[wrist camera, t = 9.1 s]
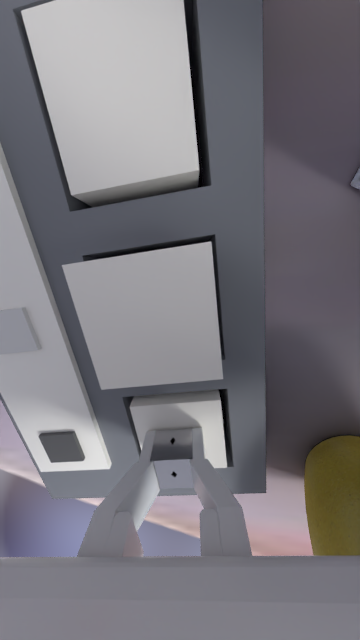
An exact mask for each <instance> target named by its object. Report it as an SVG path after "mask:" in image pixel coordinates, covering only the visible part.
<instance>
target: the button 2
mask: <svg viewBox="0 0 360 640" xmlns="http://www.w3.org/2000/svg"><path fill="white" fill-rule="evenodd" d="M130 411H131V415H132V418H133V422H134V425H135V429H136V433H137V436H138V440H139V444H140V447H141V451H142V447H143V443H144V439H145V435H146V433H147V431H155V430H174V429H184V428H199V427H202V430H203V437H204V445H205V453H206V459H208V460H209V462H210V463H211V464H212V466H213V467H214V468H227V460H226V450H225V439H224V428H223V418H222V407H221V398H220V394H219V389H215V390H203V391H190V392H178V393H166V394H154V395H142V396H134V397H133V400H132V402H131V405H130Z"/></svg>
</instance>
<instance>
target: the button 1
mask: <svg viewBox="0 0 360 640" xmlns="http://www.w3.org/2000/svg"><path fill="white" fill-rule="evenodd" d="M21 14H22V17H23V21H24V25H25V28H26V32H27V36H28V39H29V43H30V47H31V50H32V54H33V58H34V61H35V65H36V69H37V72H38V76H39V79H40V83H41V87H42V90H43V94H44V98H45V101H46V105H47V109H48V112H49V116H50V120H51V123H52V127H53V131H54V134H55V138H56V142H57V145H58V149H59V152H60V156H61V160H62V163H63V167H64V171H65V174H66V178H67V182H68V185H69V189H70V193H71V195H72V196H74V197H75V198H77V199H79V200H81V201H82V202H84V203H86V204H88V205H90V206H91V207H99V206H104V205H109V204H115V203H120V202H125V201H131V200H136V199H141V198H147V197H152V196H157V195H163V194H168V193H173V192H179V191H184V190H189V189H195V188H198V180H199V160H198V150H197V139H196V128H195V117H194V107H193V96H192V85H191V75H190V64H189V53H188V42H187V32H186V21H185V10H184V0H54V1H51V2H48V3H44V4H41V5H38V6H35V7H31V8H28V9H25V10H22V11H21Z"/></svg>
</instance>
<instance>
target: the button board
mask: <svg viewBox="0 0 360 640" xmlns="http://www.w3.org/2000/svg"><path fill="white" fill-rule="evenodd" d="M51 1H54V0H0V399H1V401H2V403H3V405H4V407H5V409H6V411H7V412H8V414H9V416H10V418H11V420H12V422H13V424H14V426H15V428H16V430H17V432H18V434H19V436H20V438H21V440H22V441H23V443H24V445H25V447H26V449H27V451H28V453H29V455H30V457H31V459H32V461H33V463H34V465H35V467H36V468H37V470H38V472H39V474H40V476H41V478H42V480H43V482H44V484H45V486H46V488H47V490H48V492H49V494H50V495H51V497H52V499H62V498H63V499H66V498H102V497H107V496H108V494H109V493H110V492H111V491H112V490H113V489H114V487H115V486H116V485H117V484H118V483H119V482H120V480H121V479H122V478H123V477H124V476H125V474H126V473H127V472H128V471H129V470H130V469H131V467H132V466H133V465H134V464H135V463H136V462H139V458H140V454H141V447H140V444H139V440H138V436H137V433H136V429H135V425H134V422H133V418H132V415H131V411H130V405H131V402H132V400H133V397H134V396H142V395H154V394H166V393H178V392H190V391H203V390H215V389H221V390H222V401H223V412H224V423H223V428H224V439H225V450H226V460H227V468H214V469H215V470H216V471H217V473H218V474H219V476H220V477H221V479H222V480H223V481H224V483H225V484H226V486H227V487H228V488H229V490H230V491H231V493H232V494H245V493H266V403H265V266H264V128H263V0H184V10H185V21H186V32H187V42H188V53H189V64H190V67H192V69H193V80H194V91H195V102H196V113H197V124H198V135H199V146H200V157H201V168H202V180H203V187H200V188H195V189H189V190H184V191H179V192H173V193H168V194H163V195H157V196H152V197H147V198H141V199H136V200H131V201H125V202H120V203H115V204H109V205H104V206H99V207H91V206H90V205H88V204H86V203H84V202H82V201H81V200H79V199H77V198H75V197H74V196H72V195H71V193H70V189H69V185H68V182H67V178H66V174H65V171H64V167H63V163H62V160H61V156H60V152H59V149H58V145H57V142H56V138H55V134H54V131H53V127H52V123H51V120H50V116H49V112H48V109H47V105H46V101H45V98H44V94H43V90H42V87H41V83H40V79H39V76H38V72H37V69H36V65H35V61H34V58H33V54H32V50H31V47H30V43H29V39H28V36H27V32H26V28H25V25H24V21H23V17H22V14H21V11H22V10H25V9H28V8H31V7H35V6H38V5H41V4H44V3H48V2H51ZM204 242H212V254H213V266H214V277H215V289H216V301H217V312H218V324H219V336H220V348H221V359H222V371H223V379H220V380H208V381H197V382H185V383H174V384H162V385H151V386H139V387H128V388H116V389H105V390H101V387H100V384H99V381H98V378H97V375H96V372H95V368H94V365H93V362H92V359H91V356H90V353H89V350H88V346H87V343H86V340H85V337H84V334H83V331H82V328H81V324H80V321H79V318H78V315H77V312H76V309H75V306H74V302H73V299H72V296H71V293H70V290H69V287H68V284H67V280H66V277H65V274H64V271H63V268H62V265H66V264H72V263H78V262H85V261H91V260H97V259H103V258H110V257H116V256H122V255H129V254H135V253H141V252H148V251H154V250H160V249H167V248H173V247H179V246H185V245H192V244H198V243H204ZM173 495H197V493H196V491H195V489H194V488H168V489H160V491H159V493H158V495H157V496H173Z"/></svg>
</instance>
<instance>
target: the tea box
mask: <svg viewBox="0 0 360 640" xmlns="http://www.w3.org/2000/svg"><path fill="white" fill-rule="evenodd" d="M351 186H352V187H355V188H357V189H360V167H359V169H358V171H357V173H356V175H355V177H354V179H353V180H352V182H351Z"/></svg>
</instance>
